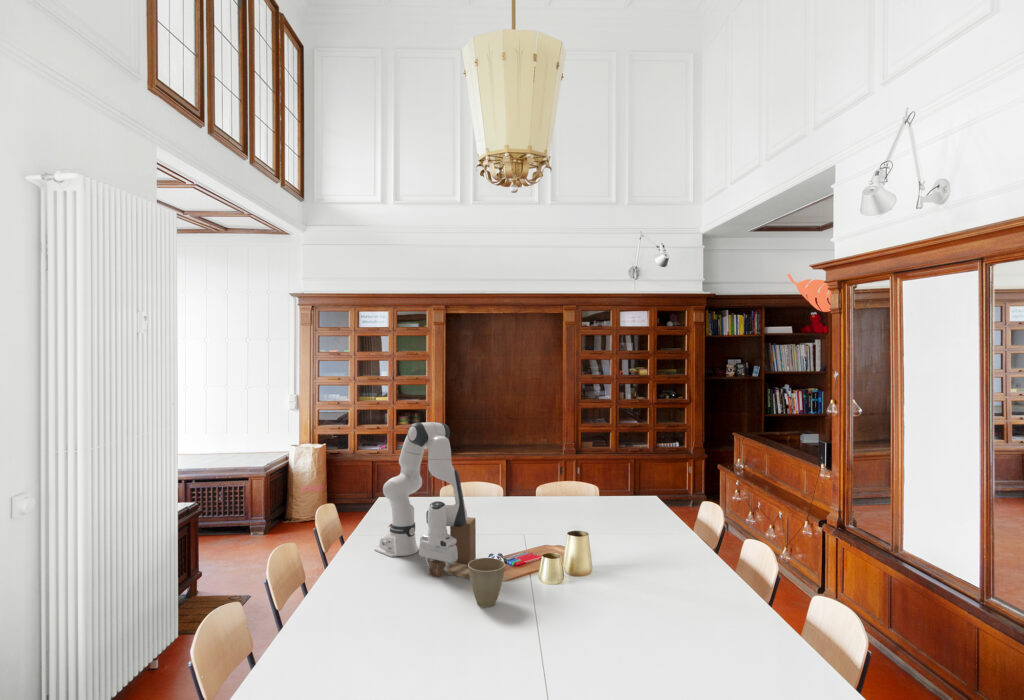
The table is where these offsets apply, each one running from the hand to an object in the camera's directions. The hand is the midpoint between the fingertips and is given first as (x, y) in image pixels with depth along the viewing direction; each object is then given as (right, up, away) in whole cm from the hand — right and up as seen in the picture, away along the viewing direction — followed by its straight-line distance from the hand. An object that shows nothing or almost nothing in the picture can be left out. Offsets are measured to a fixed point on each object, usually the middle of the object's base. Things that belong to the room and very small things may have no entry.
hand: (438, 569), depth 275 cm
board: (+11, -2, +2) cm, 12 cm away
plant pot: (+23, -3, -31) cm, 39 cm away
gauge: (+2, -2, +3) cm, 4 cm away
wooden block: (+10, -2, +17) cm, 20 cm away
